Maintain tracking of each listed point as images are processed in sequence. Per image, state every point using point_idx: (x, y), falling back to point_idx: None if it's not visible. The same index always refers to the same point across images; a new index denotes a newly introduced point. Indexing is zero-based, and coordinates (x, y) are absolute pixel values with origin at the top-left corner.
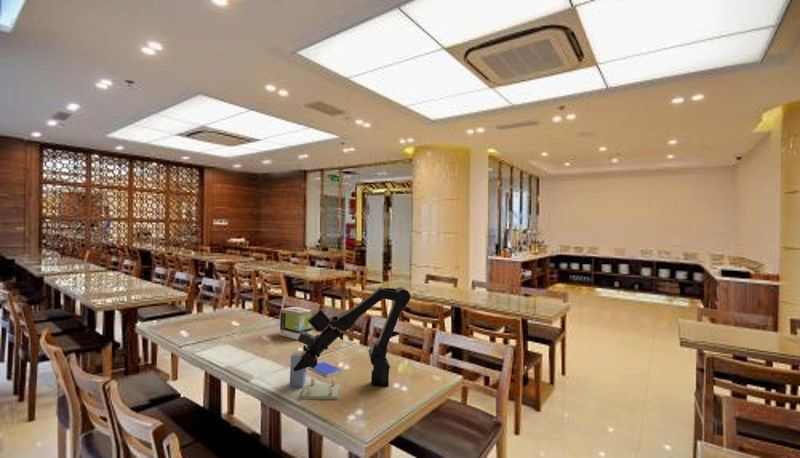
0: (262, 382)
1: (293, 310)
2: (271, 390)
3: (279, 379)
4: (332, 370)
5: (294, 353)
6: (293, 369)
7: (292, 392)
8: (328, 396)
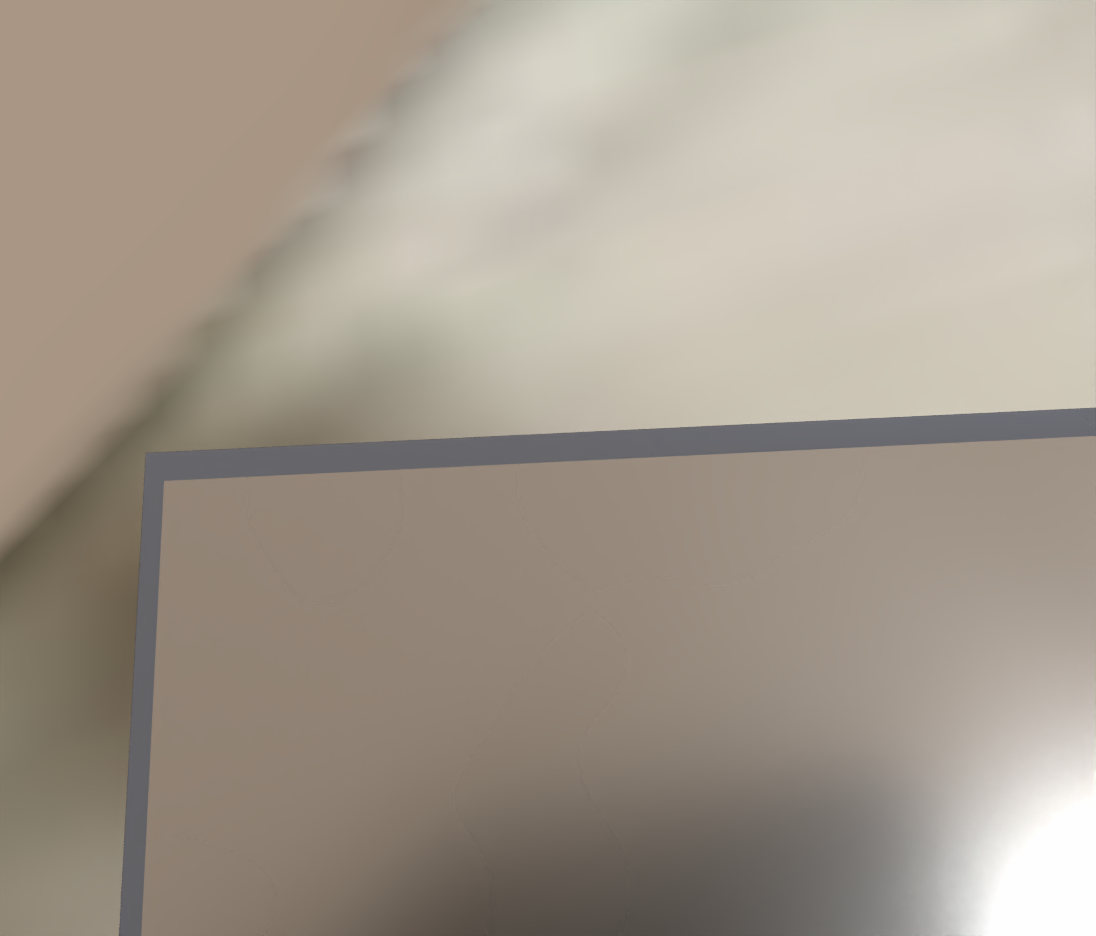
0: (619, 52)
1: None
2: (241, 331)
3: (835, 322)
4: None
5: (404, 676)
6: None
7: None
8: None
